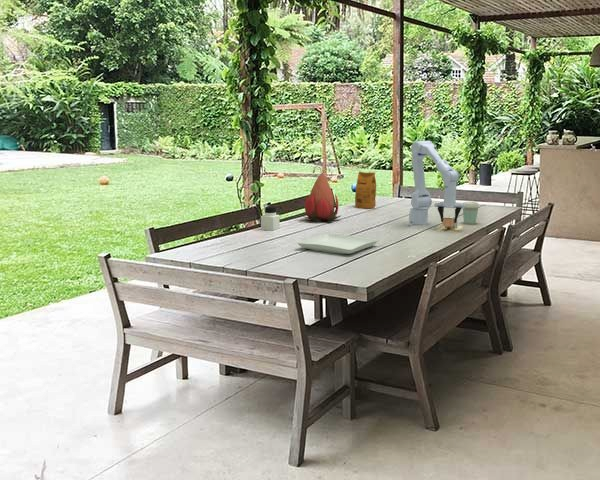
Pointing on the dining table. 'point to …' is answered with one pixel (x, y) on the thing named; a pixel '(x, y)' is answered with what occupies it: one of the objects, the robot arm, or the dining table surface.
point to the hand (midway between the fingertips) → (448, 222)
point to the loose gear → (448, 222)
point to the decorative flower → (321, 201)
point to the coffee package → (365, 191)
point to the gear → (453, 226)
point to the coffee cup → (470, 212)
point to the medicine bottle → (270, 219)
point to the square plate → (337, 243)
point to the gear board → (449, 229)
